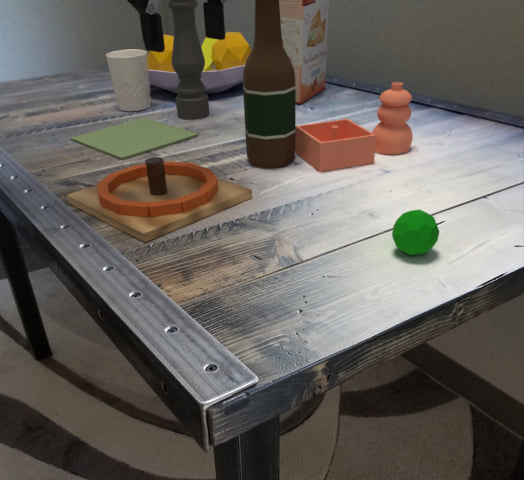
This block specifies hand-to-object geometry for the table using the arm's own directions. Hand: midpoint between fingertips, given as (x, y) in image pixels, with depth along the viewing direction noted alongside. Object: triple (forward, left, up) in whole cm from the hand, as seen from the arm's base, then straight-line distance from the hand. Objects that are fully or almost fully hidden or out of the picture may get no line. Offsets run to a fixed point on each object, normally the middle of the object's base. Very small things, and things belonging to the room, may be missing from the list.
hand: (186, 44), depth 73 cm
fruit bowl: (+39, +45, -18) cm, 62 cm away
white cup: (+19, +43, -18) cm, 50 cm away
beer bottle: (+14, -1, -18) cm, 23 cm away
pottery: (+25, -9, -18) cm, 33 cm away
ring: (-7, 0, -16) cm, 18 cm away
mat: (+7, +26, -18) cm, 33 cm away
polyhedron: (+3, -34, -18) cm, 39 cm away
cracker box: (+47, +22, -18) cm, 55 cm away
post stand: (-7, 0, -18) cm, 20 cm away
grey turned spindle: (+23, +29, -18) cm, 41 cm away
